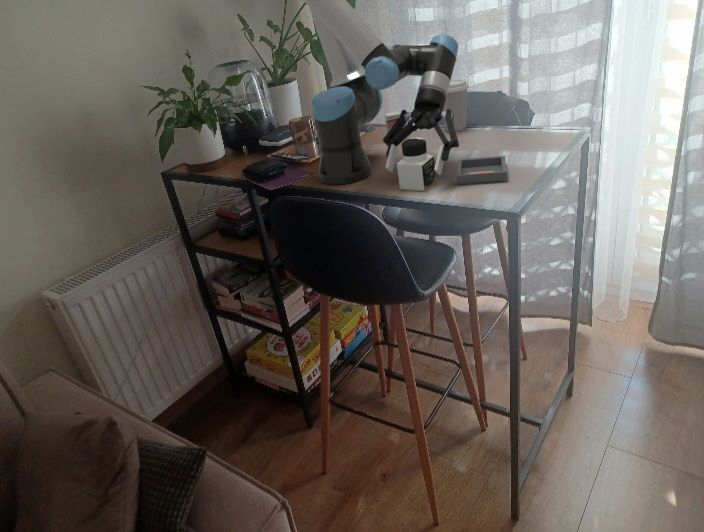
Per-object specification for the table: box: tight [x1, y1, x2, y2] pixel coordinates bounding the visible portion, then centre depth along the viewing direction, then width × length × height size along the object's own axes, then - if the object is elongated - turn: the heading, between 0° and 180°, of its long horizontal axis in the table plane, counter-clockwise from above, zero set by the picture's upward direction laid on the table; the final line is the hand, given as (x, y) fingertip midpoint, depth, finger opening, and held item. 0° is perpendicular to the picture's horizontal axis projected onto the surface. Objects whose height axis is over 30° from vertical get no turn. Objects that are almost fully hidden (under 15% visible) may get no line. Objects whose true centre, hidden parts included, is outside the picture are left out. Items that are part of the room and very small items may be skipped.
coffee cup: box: [442, 78, 469, 133], centre depth 169 cm, size 10×10×15 cm
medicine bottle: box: [396, 137, 437, 192], centre depth 132 cm, size 7×7×12 cm
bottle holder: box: [456, 155, 508, 186], centre depth 133 cm, size 12×12×3 cm
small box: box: [384, 110, 401, 134], centre depth 174 cm, size 5×4×8 cm
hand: (412, 171), depth 131 cm, fingers open, 13 cm apart
